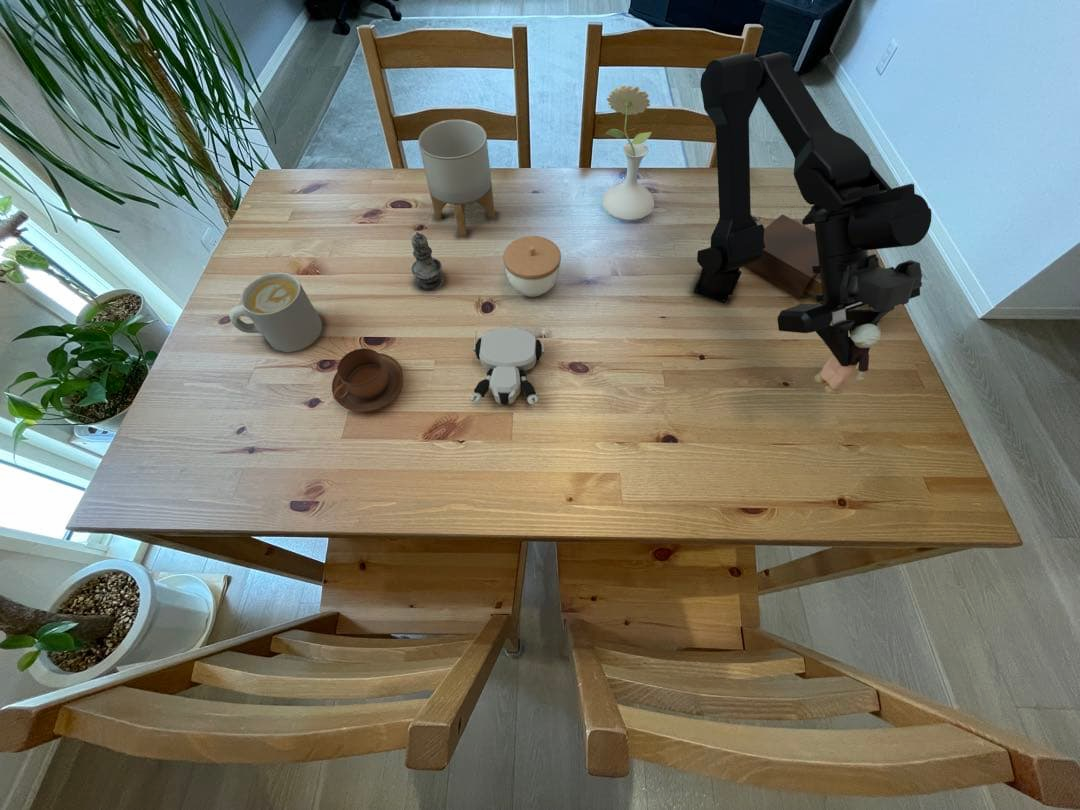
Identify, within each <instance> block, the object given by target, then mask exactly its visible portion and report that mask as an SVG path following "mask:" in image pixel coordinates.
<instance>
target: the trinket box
mask: <svg viewBox="0 0 1080 810" xmlns="http://www.w3.org/2000/svg"><path fill="white" fill-rule="evenodd" d="M502 260H503V266H504V271H505V275H506V278H507V280H508V283H509V284H510V285H511V287H513V289H514V290H515V291H516V292H518V293H520V294H522V295H523V296H525V297H530V298H533V297H535V298H536V297H540V296H542V295H544V294H545V293H547V292H549V290H551V289H552V288H553V287H554V285H555V284H556V283H557V280H558V278H559V275H560V269H561V261H562V253H561V250H560V248H559V247H558V245H557V244H556V243H555V242H554V241H552V240H550V239H548V238H546V237H544V236H537V235H528V236H521V237H519V238H516V239H515V240H513V241H511V242H510V243H508V245H507V246H506V248H505V249H504V251H503V255H502Z"/></svg>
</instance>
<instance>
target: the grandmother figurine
mask: <svg viewBox="0 0 1080 810" xmlns="http://www.w3.org/2000/svg"><path fill="white" fill-rule="evenodd" d="M849 335H850V334H849ZM849 335H848V337H849V352H850V362H849V366H847V367H845V366H841V364H840V363H839V362H838V360H837V359H836V357H835V356H834V355H833V354H832V355H831V357H830V358H829V359H828V360H827V362H825V364H824V366H823V367H822V369H821V370H820V371H819V372H818V373H817V374H815V376H814V381H816V382H817V383H818V384H821V385H823V384H825V383H828V384H826V385H825V387H824V389H825V392H826V393H827V394H829V395H840V394H843V393H844V391H845V388H844V385H845V383H846V382H847V380H848V379H849V378H850V376H852V374H853V373H854V371H855V370H856V368H857V367H858V370H857V375H856V376H855V380H856V381H857V382H859V383H861V382H864V381H865V377H866V375H867V372H868V371H869V362H870V353H868V352H867V350H866V348H868V347H870V348H871V347H872V346H873V345H875V344H876V343H877V342H879V339H880V338H881V337H882V331H881V329H880V328H879V327H878V325H877V326H875V325H874V324H864V325H860V326H858V327H857V328H855V329H854V331H851V335H850V336H849ZM823 342H824V341H823ZM824 346H826V347H828V346H827V345H826V343H825V342H824ZM857 365H858V366H857Z"/></svg>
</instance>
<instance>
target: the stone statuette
mask: <svg viewBox="0 0 1080 810" xmlns="http://www.w3.org/2000/svg"><path fill="white" fill-rule="evenodd" d="M410 242H411V246H412V248H413V251H412V255H413V257H414V258H415V262H413V264H412V265H411V269H410V270H411V273H412V275H413V276H414V277H415V278H416V286H417V287H418V288H419V289H421V290H422V291H426V292H432V291H435V290H438V289H439V288H440V287H442V285H443V284H444V277H443V275H442V274H441V273H442V269H443V266H442V263H441V261H440V260H439V259H437V258H436V257H433V256H432V253H433V249H432V248H431V247H430V246H429V242H428V238H427V236H426V235H425V234H423V233H420V232H419V231H416V232H415V234H414V235H413V236H412V238H411V241H410Z"/></svg>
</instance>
